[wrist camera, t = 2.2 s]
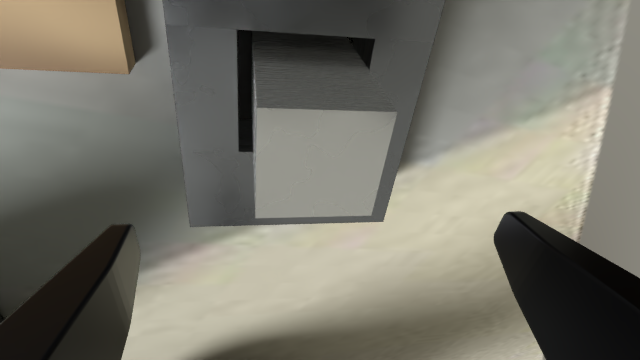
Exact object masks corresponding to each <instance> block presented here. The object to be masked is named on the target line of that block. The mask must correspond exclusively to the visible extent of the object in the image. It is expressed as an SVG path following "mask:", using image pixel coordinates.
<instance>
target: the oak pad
mask: <svg viewBox="0 0 640 360" xmlns="http://www.w3.org/2000/svg"><path fill="white" fill-rule="evenodd" d="M135 64H136V63H135V58H134V52H133V46H132V41H131V35H130V29H129V23H128V18H127V12H126V6H125V1H124V0H0V68H1V69H24V70H46V71H69V72H92V73H114V74H130V72H131V70H132V69H133V67H134V65H135Z"/></svg>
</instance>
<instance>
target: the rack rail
mask: <svg viewBox="0 0 640 360" xmlns="http://www.w3.org/2000/svg"><path fill="white" fill-rule="evenodd" d="M444 3H445V0H163V8H164V17H165V25H166V33H167V41H168V49H169V58H170V66H171V74H172V82H173V91H174V99H175V107H176V115H177V123H178V132H179V140H180V148H181V156H182V165H183V173H184V181H185V189H186V198H187V206H188V214H189V222H190V227H203V226H241V225H279V224H317V223H355V222H383V220H384V217H385V213H386V210H387V206H388V203H389V199H390V196H391V192H392V188H393V185H394V181H395V178H396V174H397V171H398V167H399V163H400V160H401V156H402V153H403V149H404V146H405V142H406V139H407V135H408V131H409V128H410V124H411V121H412V117H413V114H414V110H415V106H416V103H417V99H418V96H419V92H420V89H421V85H422V82H423V78H424V74H425V71H426V67H427V64H428V60H429V57H430V53H431V49H432V46H433V42H434V39H435V35H436V32H437V28H438V24H439V21H440V17H441V14H442V10H443V7H444ZM238 30H253V31H267V32H282V33H297V34H312V35H326V36H341V37H354V42H353V47H354V49H355V50H356V52H357V53H358V55H359V56H360V58H361V59H362V61H363V62H364V63H365V65H366V66H367V68H368V69H369V71H370V72H371V74H372V75H373V77H374V78H375V80H376V81H377V83H378V84H379V86H380V87H381V89H382V90H383V92H384V93H385V94H386V96H387V97H388V99H389V100H390V102H391V103H392V105H393V106H394V108H395V109H396V111H397V116H396V120H395V124H394V128H393V132H392V136H391V140H390V144H389V148H388V152H387V156H386V160H385V163H384V167H383V171H382V175H381V179H380V183H379V187H378V191H377V195H376V199H375V203H374V207H373V211H372V215H371V216H333V217H290V218H255V194H254V165H253V136H252V120H248V119H239V68H238Z"/></svg>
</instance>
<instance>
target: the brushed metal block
mask: <svg viewBox="0 0 640 360" xmlns="http://www.w3.org/2000/svg"><path fill="white" fill-rule="evenodd" d="M396 116H397V111H396V109H395V108H394V106H393V105H392V103H391V102H390V100H389V99H388V97H387V96H386V94H385V93H384V92H383V90H382V89H381V87H380V86H379V84H378V83H377V81H376V80H375V78H374V77H373V75H372V74H371V72H370V71H369V69H368V68H367V66H366V65H365V63H364V62H363V61H362V59H361V58H360V56H359V55H358V53H357V52H356V50H355V49H354V47H353V46H352V44H351V43H350V41H349V40H348V38H347V37H341V36H326V35H312V34H297V33H282V32H267V31H253V30H252V136H253V165H254V194H255V218H290V217H333V216H371V215H372V211H373V207H374V203H375V199H376V195H377V191H378V187H379V183H380V179H381V175H382V171H383V167H384V163H385V160H386V156H387V152H388V148H389V144H390V140H391V136H392V132H393V128H394V124H395V120H396Z"/></svg>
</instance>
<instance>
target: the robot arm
mask: <svg viewBox="0 0 640 360" xmlns="http://www.w3.org/2000/svg"><path fill="white" fill-rule="evenodd" d="M494 244H495V247H496V249H497V252H498V255H499V257H500V260H501V263H502V265H503V268H504V270H505V273H506V276H507V278H508V281H509V284H510V286H511V289H512V291H513V294H514V296H515V298H516V300H517V302H518V304H519V306H520V308H521V310H522V312H523V314H524V316H525V318H526V320H527V322H528V324H529V326H530V328H531V330H532V332H533V334H534V336H535V338H536V340H537V342H538V344H539V346H540V348H541V351H542V353H543V355H544V357H545V358H546V360H640V278H638V277H637V276H635V275H633V274H631V273H630V272H628V271H626V270H624V269H623V268H621V267H619V266H617V265H616V264H614V263H612V262H610V261H609V260H607V259H605V258H603V257H602V256H600V255H598V254H597V253H595V252H593V251H591V250H589V249H588V248H586V247H584V246H583V245H581V244H579V243H577V242H576V241H574V240H572V239H570V238H569V237H567V236H565V235H563V234H562V233H560V232H558V231H556V230H555V229H553V228H551V227H549V226H548V225H546V224H544V223H542V222H541V221H539V220H537V219H535V218H534V217H532V216H530V215H528V214H527V213H525V212H521V211H516V212H507V213H506V214H504V216H503V218H502V220H501V222H500V224H499V226H498V228H497V230H496V231H495V234H494ZM139 265H140V248H139V244H138V240H137V236H136V232H135V228H134V226H133V225H132V224H113V225H111V226H109V227H108V228H107V229H106V230H104V231H103V232H102V233H101V234H100V235H99V236H98V237H97V238H96V239H94V240H93V241H92V242H91V243H90V244H89V245H88V246H87V247H85V248H84V249H83V250H82V251H81V252H80V253H79V254H78V255H77V256H75V257H74V258H73V259H72V260H71V261H70V262H69V263H68V264H66V265H65V266H64V267H63V268H62V269H61V270H60V271H59V272H57V273H56V274H55V275H54V276H53V277H52V278H51V279H50V280H49V281H47V282H46V283H45V284H44V285H43V286H42V287H41V288H40V289H38V290H37V291H36V292H35V293H34V294H33V295H32V296H31V297H30V298H28V299H27V300H26V301H25V302H24V303H23V304H22V305H21V306H19V307H18V308H17V309H16V310H15V311H14V312H13V313H12V314H11V315H9V316H8V317H7V318H6V319H5V320H4V321H3V319H2V318H1V316H0V360H121V358H122V354H123V350H124V347H125V343H126V340H127V336H128V332H129V328H130V324H131V318H132V312H133V305H134V298H135V292H136V285H137V278H138V272H139Z"/></svg>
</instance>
